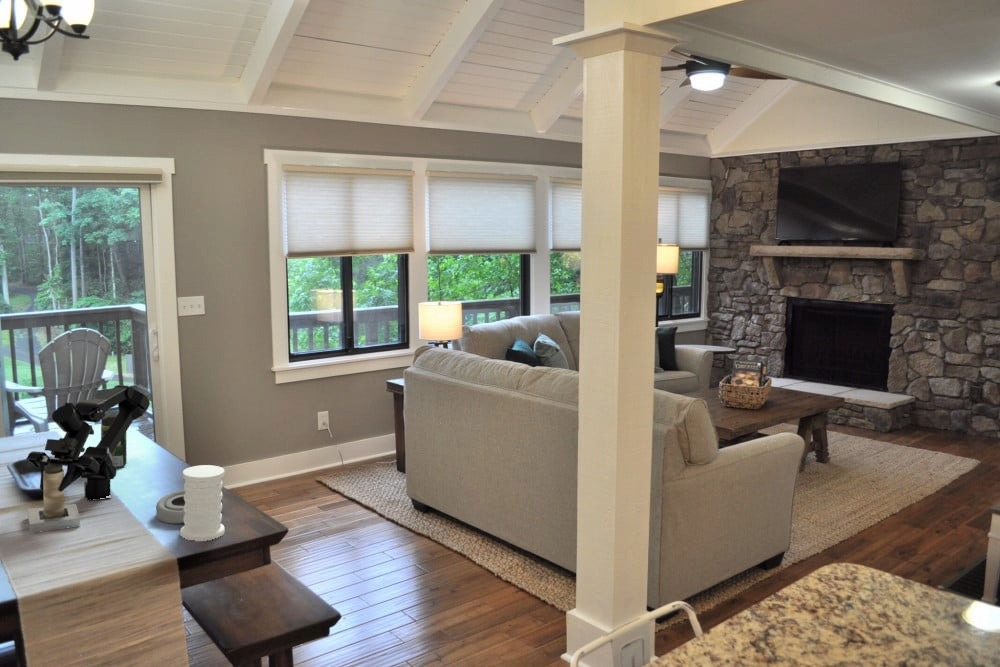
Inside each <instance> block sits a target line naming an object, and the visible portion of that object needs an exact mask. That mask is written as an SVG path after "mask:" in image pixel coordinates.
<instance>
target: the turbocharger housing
mask: <svg viewBox="0 0 1000 667" xmlns="http://www.w3.org/2000/svg"><path fill="white" fill-rule="evenodd" d="M184 494H185V489H180V490H176V491H173V492H171V493H169V494H166V495H164V496H163V497H161V498H160V499H158V501H157V503H156V505H155V509H156V510H155V511H156V519H158V520H159V521H161V522H163V523H166V524H172V525H173V524H177V525H178V524H185V523H184V521H183V519H184V516H185V512H184V505H185V501H184ZM221 503H222V510H221V513H222V512H223V510H224V496H223V497H222V499H221Z"/></svg>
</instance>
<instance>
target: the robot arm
mask: <svg viewBox="0 0 1000 667" xmlns="http://www.w3.org/2000/svg"><path fill="white" fill-rule="evenodd" d="M150 403H151V401H150V399H149V398H148V396H147V395H145V394H144V393H143V392H140V391H138V390H137V389H135V388H134V387H133V386H130V385H124V384H117V385H115V386H114V387H113V388H112V389H110V390H108V391H106V392H105V393H103V394H101V395H99V396H97V397H96V398H93V399H85V400H80V401H78V402H77V403H76V404H74V403H73V402H65V403H64V405H61V406H60V407H59V406H58V408H56V409H55V410H54V411H53V412H52V415H51V419H52V420H53V422H54V423H55V424H56V425H57V426H58V427H59V429H61V431H63V432H64V433H65V434H64V437H60V438H59V439H52V438H47V440H46V444H45V448H44V451H34V450H33V451H31V452H29V453H28V454H27V457H26V461H28V462H29V463H30V464H31V465H32V466H33V467H34V468H35V469H38V470H39V469H40V481H39V482H40V485H39V489H40V490H43V471H44V466H46V465H49V464H62V465H63V467H66V472H65V473H64V478H63V480H62V482H61V484H60V487H59V491H60V492H61V491H63V490H64V491H65V489H66V488H68V487H69V486H70V485H71V484H72V483H74V482H75V481H77V480H78V479H79V478H80V479H86V481H85V482H84V483H83V484H84V489H83V490H84V493H83V494H84V497H85V498H86V500H87V501H88V500H92V501H94V500H93V499H100V498H106V496H109V495H111V480H114V479H115V477H116V475H117V470H118V468H115V467H114V466H113V465H112V463H113V460H112V453H113V452H114V450H115V448H116V447H117V445H118V444H119V442H120V441H121V439H122V437H123V436H124V434H125V433H126V434H127V431H128V430H129V428H130V426H131V424H132V423H133V422H134V421H135V420H137V419H139V418H141V417H143V415H144V414H145V413H146V412H147V411H148V409H149V407H150ZM115 406H117V408H118V411H119V413H118V415H117V416H116V418H115V419H114V421H113V422H112V424H111V425H110V427H109V428H108V430H107V432H106V433H105V435H104V436H103V438H102V439H101V438H100V441H99V442H98V444H97V445H96V446H88V447H86V448H85V447H84V446H85V444H86V442H87V440H88V437H89V436H91V435H92V436H94V434H95V430H94V429H93V425H90V424H89V423H96V424H97V423H99V422H100V421H101V419H102V418H103V417H104V416H105V413H106V412H107V411H110V409H112V408H113V407H115ZM45 451H49V452H50V454H51V456H54V457H50V456H49V455H47V453H45ZM81 453H83V454H81ZM111 496H112V495H111Z"/></svg>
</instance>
